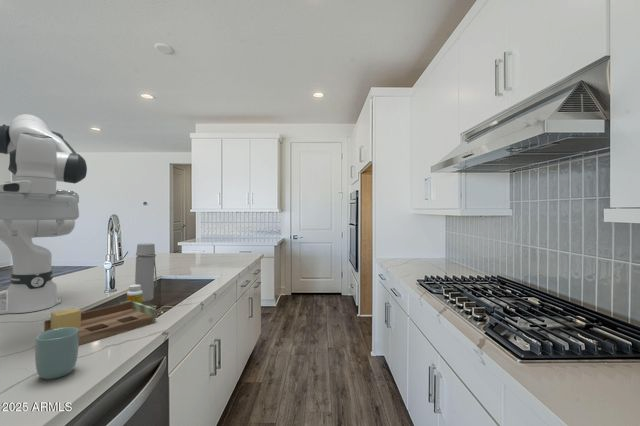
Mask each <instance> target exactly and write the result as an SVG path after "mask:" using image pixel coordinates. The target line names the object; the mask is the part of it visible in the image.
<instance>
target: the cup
mask: <svg viewBox="0 0 640 426" xmlns="http://www.w3.org/2000/svg"><path fill="white" fill-rule="evenodd" d="M78 344H79V330H78V329H77V328H75V327H64V328H58V329H53V330H49V331H45V332H44V331H43V332H41V333H39V334H38V335H37V336H36V338H35V350H34V351H35V352H34V353H35V355H34V356H35V360H34V361H35V369H36V372H37V375H38V376H39V377H40V378H41V379H43V380H54V379H58V378H62V377H64V376H66V375H68V374H69V373H70V372H72V371H73V369H74V368H75V366H76V364H77V361H78V356H79V355H78V354H79V346H78Z"/></svg>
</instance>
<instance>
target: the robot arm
mask: <svg viewBox="0 0 640 426" xmlns="http://www.w3.org/2000/svg"><path fill="white" fill-rule="evenodd" d="M0 154H4V155H8V154H9V165H8V169H7V170H8V171H9V172H10V173H11V181H5V182H2V183H0V241H1V242H2V243H3V244H5V246H7V247H8V249H9V251H10V254H11V256H12V257H11V258H12V273H11V274H10V281H9V283H10V284H9V286H8V287H7V289H6V291H5V292H2V293H0V300H1V302H0V315H3V314H5V315H6V314H22V313H31V312H32V313H33V312H37V311H43V310H47V309H49V308H52V307H54V306H57V305H58V304H61V303H63V302H62V299H59V298H58V286H57V283H56V282H54V281H53V275H54V273H53V270H52V252H51V251H50V250H49V249H48V248H46V247H43V246H41V245H37V244H35V243H34V242H33V238H55V237H61V236H66V235H70V233H72V232H73V230H74V229H75V226H76V221H75V220H78V218H79V217H80V210H79V203H80V195H79V194H78V193H77V192H74V191H73V190H63V189H57V182H61V183H68V184H77V183H79V182H81V181H83V180H84V179H85V178H86V175H87V171H88V165H87V162H86V160H85V158H84V157H83V156H82V155H80V154H79V153H77V152H76V151H75V150H74V148H73V147H72V146H71V144H69V143H68V141H66V140H65V138H64V136H63V135H62V134H61V133H59V132H56V131H53V130H50V129H49V126H48V125H47V124H46V123H45V121H44V120H42V119H41V118H40V117H38V116H37V115H34V114H28V113H23V114H19V115H17V116H15V117H14V118H13V119H12V120H11V122H10V124H9V125H6V123H5V124H2V125H0Z"/></svg>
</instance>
